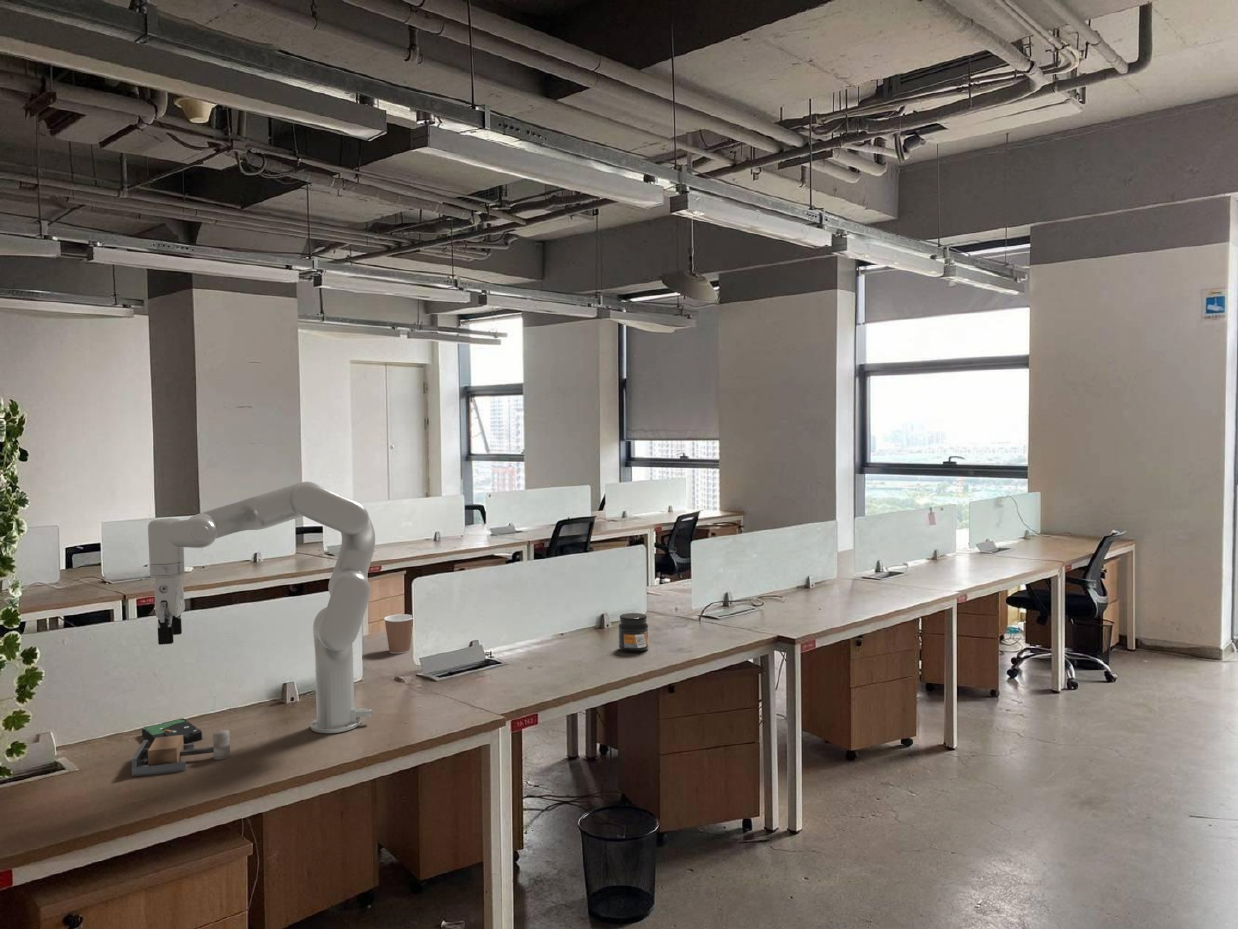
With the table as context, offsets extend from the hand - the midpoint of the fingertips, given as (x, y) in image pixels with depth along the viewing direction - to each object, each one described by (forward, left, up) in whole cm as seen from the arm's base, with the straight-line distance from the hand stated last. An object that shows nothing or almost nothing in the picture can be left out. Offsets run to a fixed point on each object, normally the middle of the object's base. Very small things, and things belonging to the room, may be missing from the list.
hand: (170, 639), depth 215 cm
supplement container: (-137, -53, -28) cm, 150 cm away
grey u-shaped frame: (+1, +9, -28) cm, 29 cm away
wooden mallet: (-5, +9, -28) cm, 29 cm away
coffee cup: (-59, -79, -28) cm, 103 cm away
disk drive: (+2, -10, -28) cm, 30 cm away
